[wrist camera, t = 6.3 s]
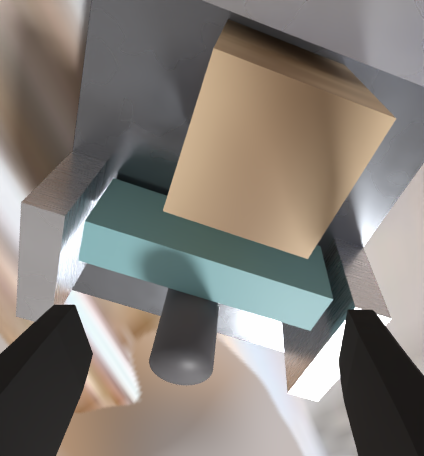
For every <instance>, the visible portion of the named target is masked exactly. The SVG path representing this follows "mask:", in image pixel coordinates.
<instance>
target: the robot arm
mask: <svg viewBox="0 0 424 456" xmlns="http://www.w3.org/2000/svg"><path fill="white" fill-rule="evenodd" d="M92 355H93V353H92V350H91V347H90V344H89V342H88V339H87V336H86V333H85V331H84V328H83V325H82V322H81V320H80V317H79V314H78V311H77V309H76V306H75V305H53V306H52V307H51V308H50V309H48V310H47V311H46V312H45V313H44V314H43V315H42V316H41V317H40V318H39V319H37V320H36V321H35V322H34V323H33V324H32V325H31V326H30V327H29V328H28V329H27V330H26V331H25V332H24V333H22V334H21V335H20V336H19V337H18V338H17V339H16V340H15V341H14V342H13V343H12V344H11V345H10V346H8V347H7V348H6V349H5V350H4V351H3V352H2V353H1V354H0V456H56V454H57V452H58V449H59V447H60V445H61V442H62V440H63V437H64V435H65V432H66V430H67V428H68V426H69V423H70V421H71V418H72V416H73V413H74V411H75V408H76V406H77V404H78V401H79V399H80V396H81V394H82V391H83V388H84V384H85V381H86V378H87V374H88V371H89V367H90V363H91V359H92ZM338 365H339V372H340V379H341V385H342V392H343V398H344V403H345V407H346V411H347V414H348V418H349V422H350V426H351V430H352V433H353V437H354V441H355V444H356V448H357V452H358V456H424V375H423V374H422V373H421V372H420V370H419V369H418V368H417V367H416V365H415V364H414V363H413V362H412V360H411V359H410V358H409V357H408V355H407V354H406V353H405V351H404V350H403V349H402V347H401V346H400V345H399V344H398V342H397V341H396V340H395V338H394V337H393V336H392V334H391V333H390V331H389V330H388V329H387V327H386V326H385V325H384V323H383V322H382V320H381V319H380V318H379V316H378V315H377V313H376V312H375V311H374V310H363V309H348V310H347V315H346V320H345V326H344V331H343V337H342V342H341V347H340V353H339V358H338Z"/></svg>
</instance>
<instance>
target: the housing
mask: <svg viewBox="0 0 424 456" xmlns="http://www.w3.org/2000/svg"><path fill="white" fill-rule="evenodd" d="M395 120H396V118H395V117H394V116H393V114H392V113H391V112H390V111H389V110H388V109H387V108H386V107H385V106H384V105H383V104H382V103H381V102H380V101H379V100H378V99H377V98H376V97H375V96H374V95H373V94H372V93H371V92H370V91H369V90H368V89H367V88H366V87H365V85H364V84H363V83H362V82H361V81H360V80H359V79H358V78H357V77H356V76H355V75H354V74H353V73H352V72H351V71H350V70H349V69H348V68H347V67H346V66H345V65H343V64H340V63H338V62H335V61H333V60H330V59H328V58H325V57H323V56H320V55H318V54H315V53H313V52H310V51H308V50H305V49H303V48H300V47H298V46H295V45H292V44H290V43H287V42H285V41H282V40H280V39H277V38H275V37H272V36H270V35H267V34H265V33H262V32H260V31H257V30H255V29H252V28H250V27H247V26H245V25H242V24H239V23H237V22H234V21H232V20H229V19H228V20H227V22H226V24H225V26H224V28H223V30H222V32H221V34H220V36H219V38H218V40H217V42H216V44H215V46H214V48H213V51H212V54H211V58H210V61H209V64H208V67H207V70H206V74H205V77H204V80H203V83H202V86H201V90H200V93H199V96H198V99H197V103H196V106H195V109H194V112H193V115H192V119H191V122H190V125H189V128H188V131H187V135H186V138H185V141H184V144H183V147H182V151H181V154H180V157H179V160H178V163H177V167H176V170H175V173H174V176H173V180H172V183H171V186H170V189H169V192H168V196H167V199H166V202H165V205H164V208H163V211H164V212H167V213H170V214H173V215H176V216H179V217H182V218H185V219H188V220H191V221H194V222H197V223H200V224H203V225H206V226H209V227H212V228H215V229H218V230H221V231H224V232H227V233H230V234H233V235H236V236H239V237H242V238H245V239H248V240H251V241H254V242H257V243H261V244H264V245H267V246H270V247H273V248H276V249H279V250H282V251H285V252H288V253H291V254H294V255H297V256H300V257H303V258H306V259H308V258H309V256H310V255H311V253H312V252H313V250H314V248H315V247H316V245H317V244H318V242H319V241H320V239H321V237H322V236H323V234H324V233H325V231H326V229H327V228H328V226H329V225H330V223H331V222H332V220H333V218H334V217H335V215H336V214H337V212H338V210H339V209H340V207H341V206H342V204H343V202H344V201H345V199H346V198H347V196H348V195H349V193H350V191H351V190H352V188H353V187H354V185H355V183H356V182H357V180H358V179H359V177H360V176H361V174H362V172H363V171H364V169H365V168H366V166H367V164H368V163H369V161H370V160H371V158H372V157H373V155H374V153H375V152H376V150H377V149H378V147H379V145H380V144H381V142H382V141H383V139H384V137H385V136H386V134H387V133H388V131H389V130H390V128H391V126H392V125H393V123H394V122H395Z"/></svg>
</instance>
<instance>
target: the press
mask: <svg viewBox="0 0 424 456" xmlns="http://www.w3.org/2000/svg"><path fill="white" fill-rule="evenodd" d="M228 19H229V20H232V21H234V22H237V23H239V24H242V25H245V26H247V27H250V28H252V29H255V30H257V31H260V32H262V33H265V34H267V35H270V36H272V37H275V38H277V39H280V40H282V41H285V42H287V43H290V44H292V45H295V46H298V47H300V48H303V49H305V50H308V51H310V52H313V53H315V54H318V55H320V56H323V57H325V58H328V59H330V60H333V61H335V62H338V63H340V64H343V65H345V66H346V67H347V68H348V69H349V70H350V71H351V72H352V73H353V74H354V75H355V76H356V77H357V78H358V79H359V80H360V81H361V82H362V83H363V84H364V85H365V87H366V88H367V89H368V90H369V91H370V92H371V93H372V94H373V95H374V96H375V97H376V98H377V99H378V100H379V101H380V102H381V103H382V104H383V105H384V106H385V107H386V108H387V109H388V110H389V111H390V112H391V113H392V114H393V116H394V117H395V118H396V120H395V122H394V123H393V125H392V126H391V128H390V130H389V131H388V133H387V134H386V136H385V137H384V139H383V141H382V142H381V144H380V145H379V147H378V149H377V150H376V152H375V153H374V155H373V157H372V158H371V160H370V161H369V163H368V164H367V166H366V168H365V169H364V171H363V172H362V174H361V176H360V177H359V179H358V180H357V182H356V183H355V185H354V187H353V188H352V190H351V191H350V193H349V195H348V196H347V198H346V199H345V201H344V202H343V204H342V206H341V207H340V209H339V210H338V212H337V214H336V215H335V217H334V218H333V220H332V222H331V223H330V225H329V226H328V228H327V229H326V231H325V233H324V234H323V236H322V237H321V239H320V241H319V242H318V244H317V245H318V246H321V250H322V254H323V258H324V262H325V267H326V271H327V275H328V279H329V283H330V287H331V291H332V295H333V301H332V302H331V303H330V305H329V306H328V308H327V309H326V310H325V312H324V313H323V314H322V316H321V317H320V319H319V320H318V321H317V323H316V324H315V325H314V327H313V328H312V329H311V331H309V330H306V329H302V328H299V327H296V326H293V325H289V324H286V323H283V322H279V321H276V320H273V319H269V318H266V317H263V316H260V315H256V314H253V313H250V312H246V311H243V310H240V309H237V308H233V307H230V306H227V305H223V304H219V314H218V324H217V333H220V334H224V335H227V336H231V337H234V338H237V339H241V340H244V341H248V342H251V343H254V344H258V345H261V346H265V347H268V348H271V349H275V350H278V351H282V352H284V354H285V366H286V379H287V391H288V393H289V394H292V395H296V396H299V397H303V398H307V399H310V400H314V401H317V402H318V401H319V399H320V398H321V397H322V396H323V395H324V394H325V393H326V392H327V391H328V389H329V388H330V387H331V386H332V385H333V384H334V383H335V382H336V380H337V379H338V378H339V377H340V372H339V365H338V358H339V353H340V347H341V342H342V337H343V331H344V326H345V320H346V315H347V310H348V309H363V310H374V311H375V312H376V313H377V315H378V316H379V318H380V319H381V320H382V322H383V323H384V325H385V326H386V324H387V323H388V322H389V321H390V320H391V316H390V314H389V311H388V309H387V306H386V304H385V301H384V299H383V296H382V294H381V291H380V289H379V286H378V284H377V281H376V279H375V276H374V273H373V271H372V268H371V266H370V263H369V261H368V258H367V256H366V253H365V251H364V248H363V247H364V246H365V244H366V243H367V241H368V240H369V239H370V237H371V236H372V234H373V233H374V232H375V230H376V229H377V227H378V226H379V225H380V223H381V222H382V220H383V219H384V218H385V216H386V215H387V213H388V212H389V211H390V209H391V208H392V206H393V205H394V204H395V202H396V201H397V199H398V198H399V197H400V195H401V194H402V192H403V191H404V190H405V188H406V187H407V185H408V184H409V183H410V181H411V180H412V178H413V177H414V176H415V174H416V173H417V171H418V170H419V169H420V167H421V166H422V164H423V163H424V0H92V3H91V11H90V19H89V27H88V35H87V42H86V50H85V58H84V66H83V74H82V82H81V90H80V98H79V106H78V114H77V122H76V130H75V138H74V145H73V151H72V152H71V153H70V154H69V155H68V156H67V157H66V158H65V159H64V160H63V161H62V162H61V163H60V164H59V165H58V166H57V167H56V168H55V169H54V170H53V171H52V172H51V173H50V174H49V175H48V176H47V177H46V178H45V179H44V180H43V181H42V182H41V183H40V184H39V185H38V186H37V187H36V188H35V189H34V190H33V191H32V192H31V193H30V194H29V195H28V196H27V197H26V198H25V199H24V200H23V201H22V202H21V219H20V241H19V263H18V285H17V307H16V317H20V318H23V319H27V320H31V321H34V322H35V321H36V320H37V319H39V318H40V317H41V316H42V315H43V314H44V313H45V312H46V311H47V310H48V309H50V308H51V307H52V306H53V305H63V304H64V302H65V301H66V299H67V297H68V295H69V294H70V292H71V290H75V291H78V292H81V293H85V294H88V295H91V296H95V297H98V298H102V299H105V300H108V301H112V302H115V303H119V304H122V305H125V306H129V307H132V308H136V309H139V310H142V311H146V312H149V313H153V314H156V315H159V316H161V314H162V310H163V306H164V302H165V299H166V295H167V291H168V288H167V287H164V286H161V285H157V284H154V283H151V282H148V281H144V280H141V279H138V278H134V277H131V276H128V275H124V274H121V273H118V272H115V271H111V270H108V269H105V268H101V267H98V266H95V265H91V264H88V263H85V262H82V261H78V259H79V253H80V247H81V241H82V235H83V229H84V223H85V220H86V218H87V217H88V215H89V214H90V212H91V211H92V209H93V208H94V206H95V205H96V203H97V202H98V200H99V199H100V197H101V196H102V194H103V193H104V191H105V190H106V189H107V187H108V186H109V184H110V183H111V181H112V180H113V178H115V179H118V180H121V181H124V182H127V183H130V184H133V185H136V186H139V187H142V188H145V189H148V190H151V191H154V192H157V193H160V194H163V195H166V196H168V192H169V189H170V186H171V183H172V180H173V176H174V173H175V170H176V167H177V163H178V160H179V157H180V154H181V151H182V147H183V144H184V141H185V138H186V135H187V131H188V128H189V125H190V122H191V119H192V115H193V112H194V109H195V106H196V103H197V99H198V96H199V93H200V90H201V86H202V83H203V80H204V77H205V74H206V70H207V67H208V64H209V61H210V58H211V54H212V51H213V48H214V46H215V44H216V42H217V40H218V38H219V36H220V34H221V32H222V30H223V28H224V26H225V24H226V22H227V20H228Z"/></svg>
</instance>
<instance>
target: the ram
mask: <svg viewBox="0 0 424 456" xmlns="http://www.w3.org/2000/svg"><path fill="white" fill-rule="evenodd" d="M166 199H167V196H166V195H163V194H160V193H157V192H154V191H151V190H148V189H145V188H142V187H139V186H136V185H133V184H130V183H127V182H124V181H121V180H118V179H115V178H113V180H112V181H111V183H110V184H109V186H108V187H107V189H106V190H105V191H104V193H103V194H102V196H101V197H100V199H99V200H98V202H97V203H96V205H95V206H94V208H93V209H92V211H91V212H90V214H89V215H88V217H87V218H86V220H85V223H84V229H83V235H82V241H81V247H80V253H79V259H78V261H82V262H85V263H88V264H91V265H95V266H98V267H101V268H105V269H108V270H111V271H115V272H118V273H121V274H124V275H128V276H131V277H134V278H138V279H141V280H144V281H148V282H151V283H154V284H157V285H161V286H164V287H167V288H168V291H167V295H166V299H165V302H164V306H163V310H162V314H161V317H160V321H159V325H158V329H157V333H156V336H155V341H154V344H153V348H152V351H151V355H150V359H149V364H150V367H151V369H152V371H153V372H154V373H155V374H156V375H157V376H158V377H160V378H161V379H163V380H165V381H167V382H170V383H173V384H179V385H195V384H198V383H201V382H203V381H205V380H207V379H208V378H209V377H210V376H211V374H212V371H213V364H214V354H215V343H216V334H217V324H218V314H219V304H223V305H227V306H230V307H233V308H237V309H240V310H243V311H246V312H250V313H253V314H256V315H260V316H263V317H266V318H269V319H273V320H276V321H279V322H283V323H286V324H289V325H293V326H296V327H299V328H302V329H306V330H309V331H311V329H312V328H313V327H314V325H315V324H316V323H317V321H318V320H319V319H320V317H321V316H322V314H323V313H324V312H325V310H326V309H327V308H328V306H329V305H330V303H331V302H332V301H333V295H332V291H331V287H330V283H329V279H328V275H327V271H326V267H325V262H324V258H323V254H322V250H321V246H318V245H316V247H315V248H314V250H313V252H312V253H311V255H310V256H309V258H308V259H306V258H303V257H300V256H297V255H294V254H291V253H288V252H285V251H282V250H279V249H276V248H273V247H270V246H267V245H264V244H261V243H257V242H254V241H251V240H248V239H245V238H242V237H239V236H236V235H233V234H230V233H227V232H224V231H221V230H218V229H215V228H212V227H209V226H206V225H203V224H200V223H197V222H194V221H191V220H188V219H185V218H182V217H179V216H176V215H173V214H170V213H167V212H164V211H163V208H164V205H165V202H166Z"/></svg>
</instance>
